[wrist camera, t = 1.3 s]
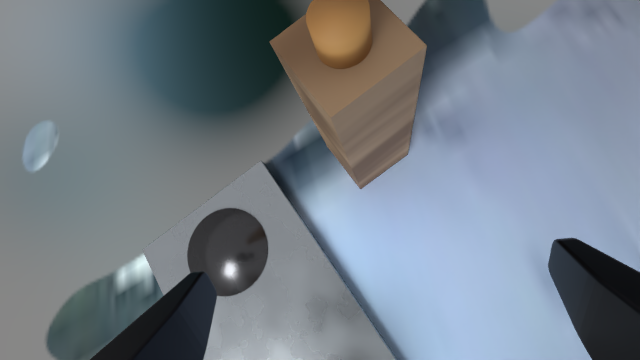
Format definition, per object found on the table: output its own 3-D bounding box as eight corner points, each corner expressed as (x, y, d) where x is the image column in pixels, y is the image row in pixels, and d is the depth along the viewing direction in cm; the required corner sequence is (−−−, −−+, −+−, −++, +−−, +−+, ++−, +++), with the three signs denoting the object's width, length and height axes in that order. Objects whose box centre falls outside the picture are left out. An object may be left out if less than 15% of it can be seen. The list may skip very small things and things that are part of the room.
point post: (407, 154, 22) (432, 13, 9) (360, 189, 22) (322, 96, 10) (371, 113, 24) (351, -62, 11) (327, 146, 24) (253, 13, 11)
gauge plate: (458, 449, 18) (461, 457, 17) (298, 562, 18) (294, 573, 18) (263, 162, 24) (260, 160, 24) (147, 249, 25) (141, 249, 24)
